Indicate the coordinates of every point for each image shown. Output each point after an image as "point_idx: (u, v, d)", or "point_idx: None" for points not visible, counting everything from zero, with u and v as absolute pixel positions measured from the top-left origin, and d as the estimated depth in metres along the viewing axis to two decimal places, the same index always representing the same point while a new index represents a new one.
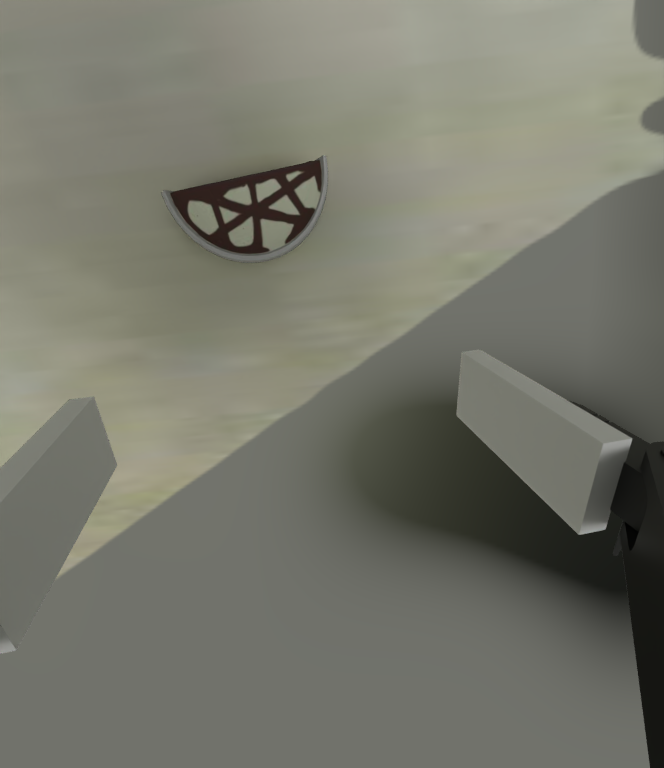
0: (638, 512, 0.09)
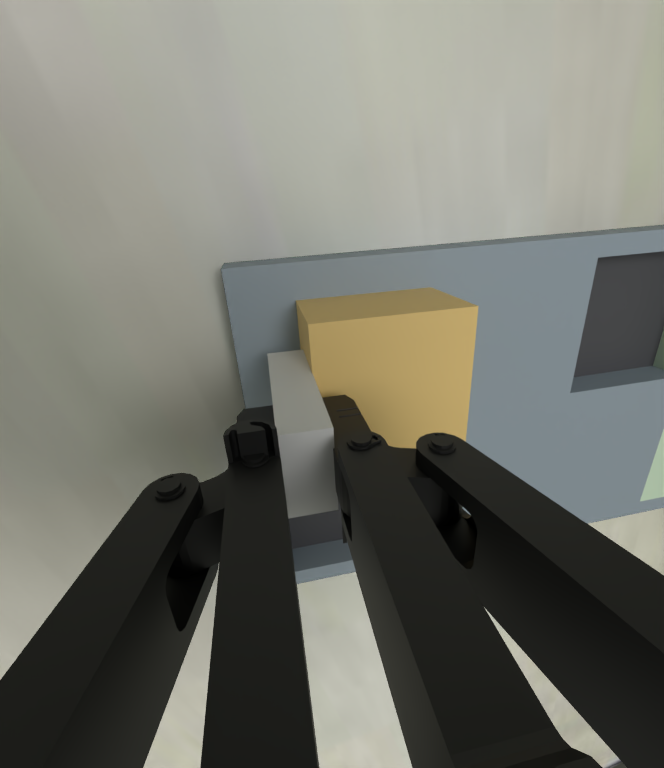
0: (348, 502, 0.10)
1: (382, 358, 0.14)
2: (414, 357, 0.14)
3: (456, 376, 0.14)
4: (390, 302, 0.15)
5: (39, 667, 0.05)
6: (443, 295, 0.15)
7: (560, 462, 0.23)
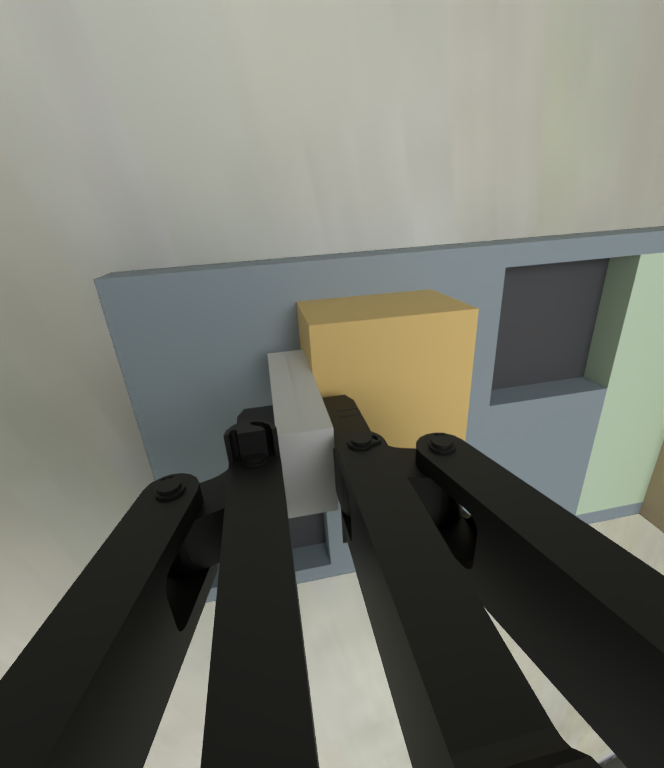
0: (347, 502, 0.10)
1: (382, 360, 0.14)
2: (414, 359, 0.14)
3: (456, 378, 0.15)
4: (390, 304, 0.15)
5: (39, 667, 0.05)
6: (443, 297, 0.15)
7: None
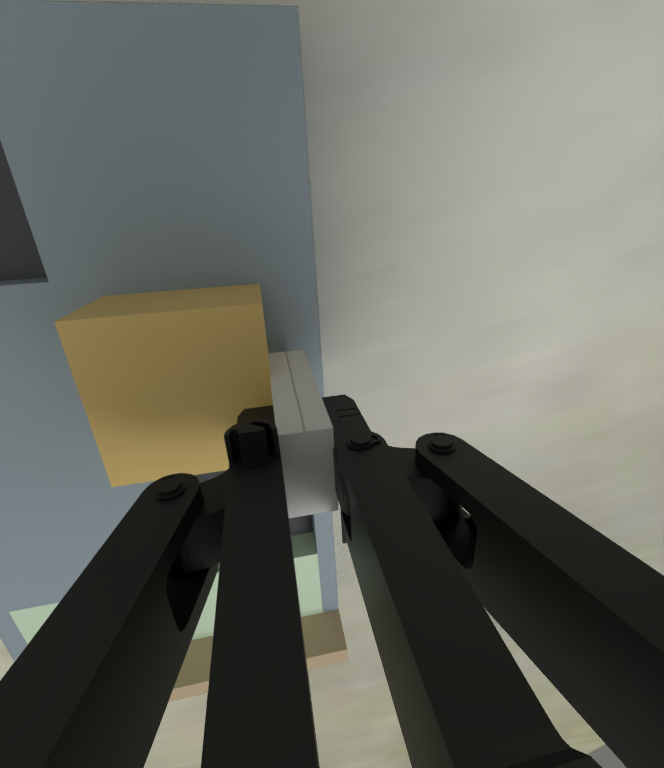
0: (347, 502, 0.10)
1: (225, 381, 0.13)
2: (228, 413, 0.13)
3: (208, 458, 0.14)
4: None
5: (40, 667, 0.05)
6: None
7: (59, 493, 0.18)
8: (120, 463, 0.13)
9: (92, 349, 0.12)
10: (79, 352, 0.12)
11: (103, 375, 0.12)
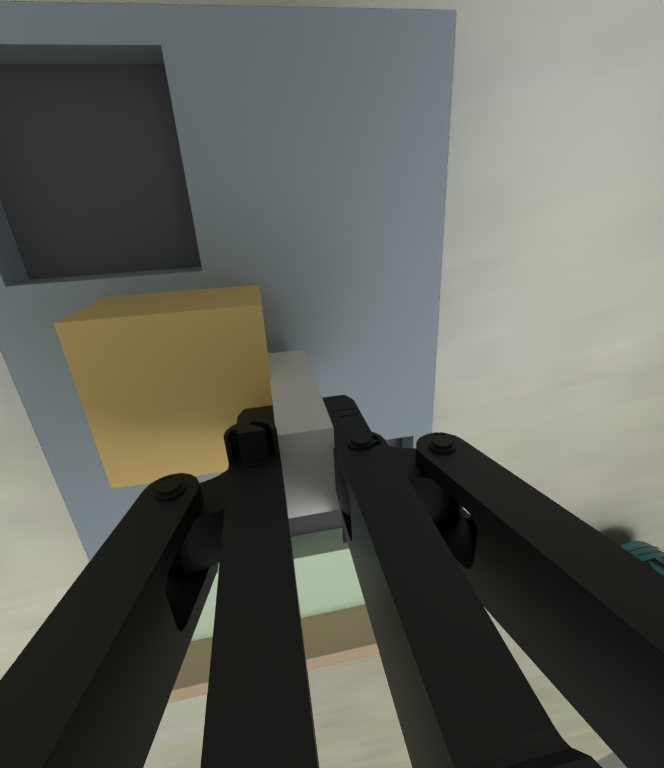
0: (347, 502, 0.10)
1: (224, 383, 0.13)
2: (227, 415, 0.13)
3: (208, 459, 0.14)
4: None
5: (39, 667, 0.05)
6: None
7: None
8: (120, 464, 0.13)
9: (91, 350, 0.12)
10: (79, 354, 0.12)
11: (103, 377, 0.12)
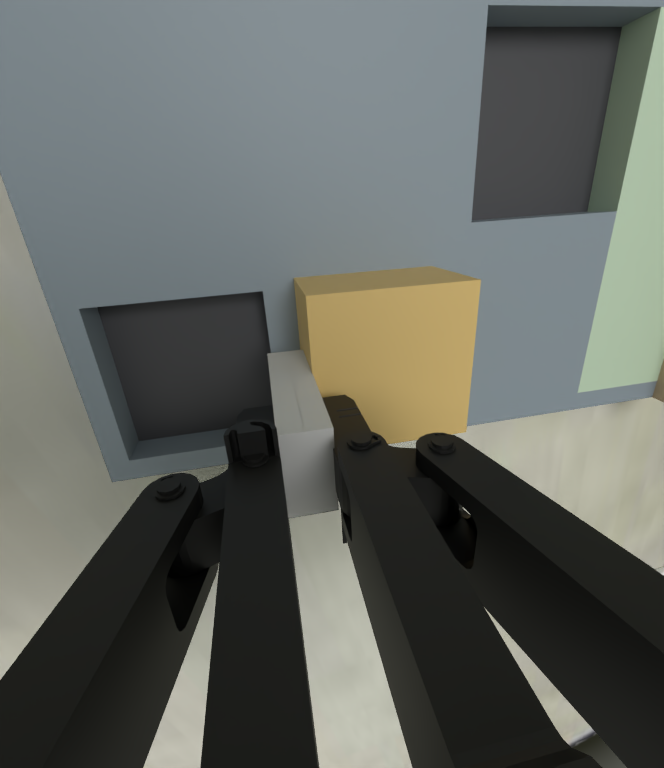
0: (347, 502, 0.10)
1: (382, 333, 0.13)
2: (415, 332, 0.13)
3: (458, 353, 0.14)
4: (390, 278, 0.14)
5: (39, 667, 0.05)
6: (444, 271, 0.15)
7: None
8: (445, 423, 0.15)
9: None
10: None
11: None
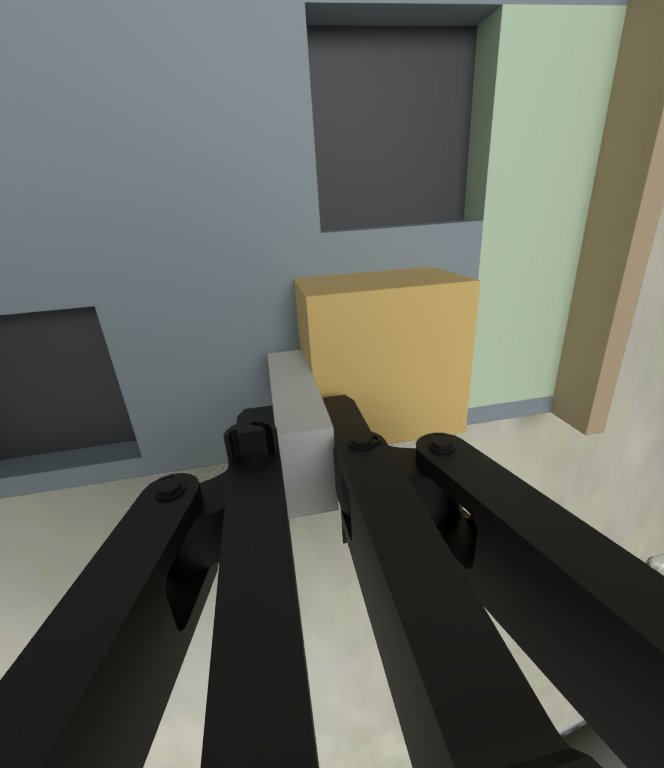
0: (347, 502, 0.10)
1: (381, 334, 0.13)
2: (415, 333, 0.14)
3: (458, 353, 0.14)
4: (390, 278, 0.14)
5: (39, 667, 0.05)
6: (444, 272, 0.15)
7: None
8: (445, 424, 0.15)
9: None
10: None
11: None
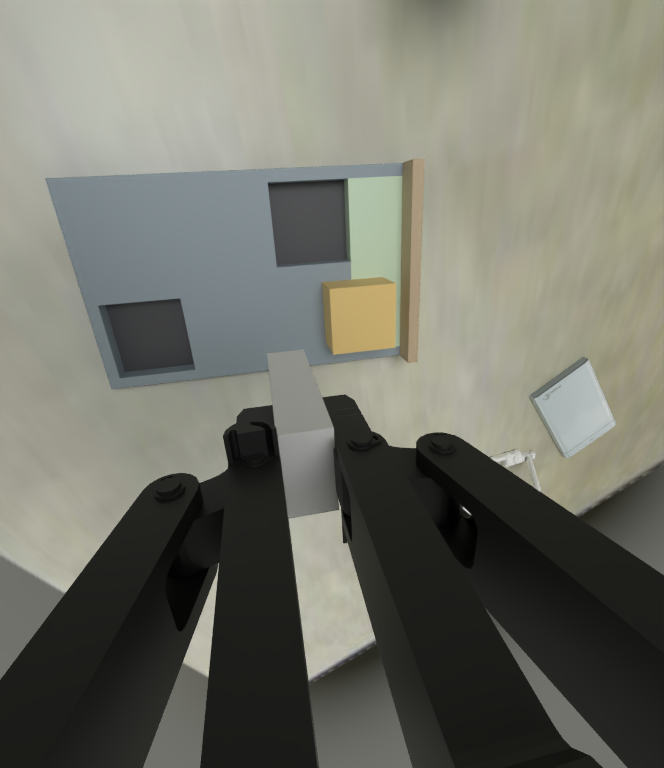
0: (348, 502, 0.10)
1: (358, 304, 0.34)
2: (371, 303, 0.35)
3: (389, 312, 0.35)
4: (362, 282, 0.36)
5: (39, 667, 0.05)
6: (385, 279, 0.36)
7: (285, 315, 0.38)
8: (385, 343, 0.36)
9: (342, 345, 0.36)
10: (343, 349, 0.36)
11: (351, 343, 0.36)
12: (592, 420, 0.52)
